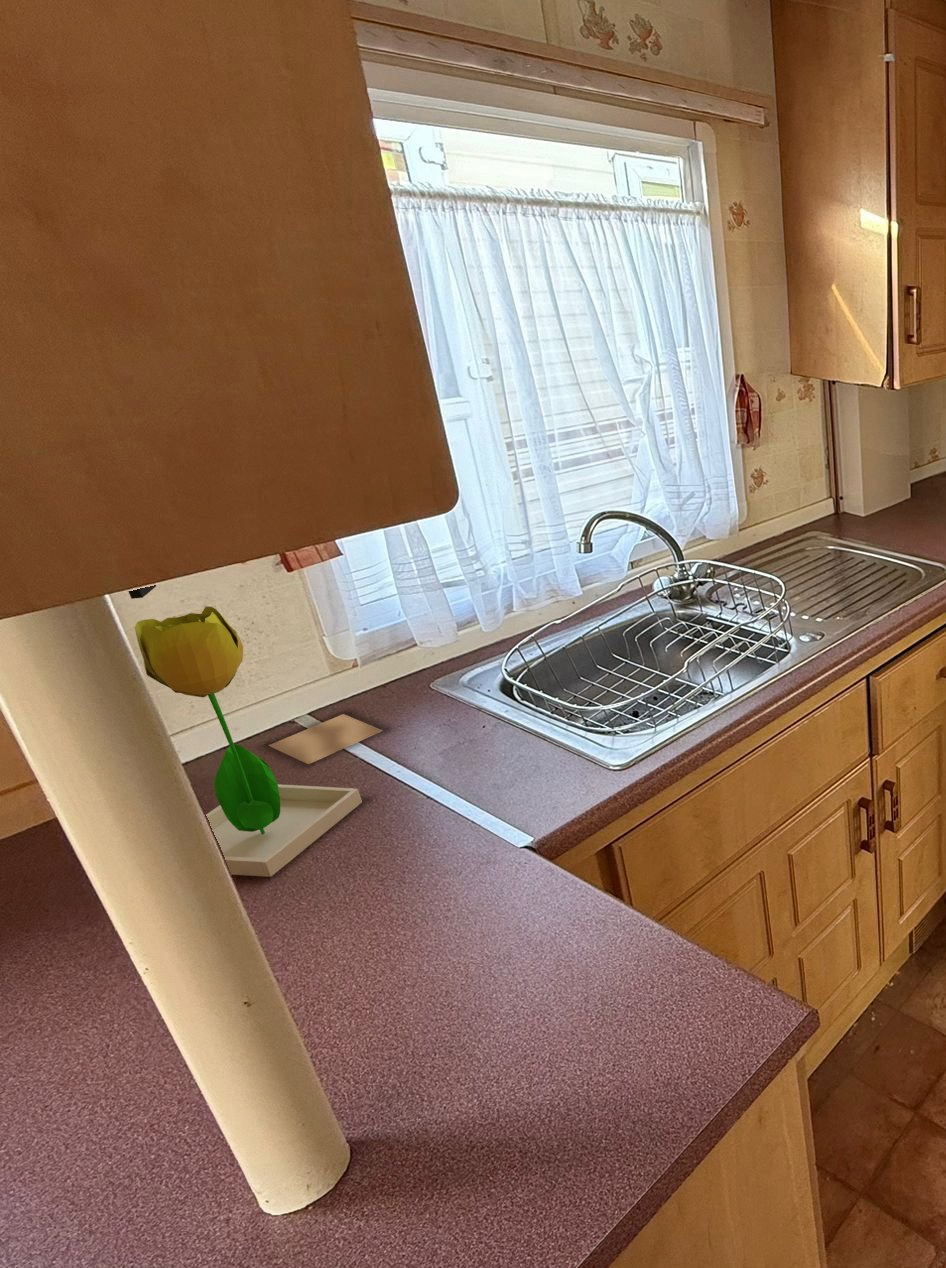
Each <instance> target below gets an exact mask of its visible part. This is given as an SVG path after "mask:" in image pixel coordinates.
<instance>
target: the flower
mask: <svg viewBox="0 0 946 1268" xmlns="http://www.w3.org/2000/svg"><path fill="white" fill-rule="evenodd" d="M134 631H135V635H136V639H137V644H138V648H139V651H140V653H141V656H142V659H143V666H144V671H145V673H146V676H148V677H149V678H151V679H153V680H154V681H156V682H158V683H159V684H161V685H163V686H165V687H166V688H169V689H170V690H171V691H172V692H174V693H176V694H182V695H183V696H184V695H185V696H190V697H197V698H198V697H199V698H206V697H208V699H209V700H210V703H211V706H212V707H213V710H214V712H215V714H216V717H217V720H218V721H219V724H220V727H221V729H222V730H223V734H224V735H225V738H226V740H227V743H228V745H229V747H228V748H227V749H226V750H225V753H224V755H223V757H222V759H221V762H220V764H219V767H218V770H217V772H216V774H215V777H214V791H215V793H214V794H215V795H216V798H217V801H218V803H219V805H221V807H222V809H223V811H224V814H225V815H226V817H227V819H228V820H229V821H230V822H231V824H232V825H233V826H234V827H235V828H237V829H238V830H239V831H249V832H254V831H257V830H260V832H261V834H264V833H265V832H264V829H263V828H265V827H266V826H268V825H269V824H270V823H272V822H274V821H275V820H276V819H277V818H279V815H280V795H279V789H278V784H279V783H278V782H277V780H276V777H275V775H274V773H273V771H272V769H271V768H270V766H269V765H268V763H267V762H266V761H265V760H263V759H262V758H260V757H259V756H257V755H256V754H254V753H253V752H251V751H250V750H248V749H247V748H245V747H244V746H242V745H240V744H234V740H233V738H232V736H231V732H230V729H229V727H228V724H227V721H226V718H225V717H224V714H223V712H222V709H221V706H220V704H219V702H218V699H217V697H216V695H215V694H218V693H220V692H221V691H223V690H225V689H226V688H227V687H228V686H229V685H230V684H231V682H232V681H233V679H234V678H235V676H236V673H237V672H238V669H239V667H240V666H241V663H243V659H244V645H243V642H242V641H241V637H239V635H238V633H237V631H236V630H235V629H234V628H233V627H232V625H231V624H230V623H229V622H228V621H227V620H226V618H225V617H224V616H223V615H222V614H221V613H220V611H218V610H217V609H216V608H214V607H213V606H205V607H204V608H203V610H202V612H201V613H192V612H189V613H188V614H185V615H181V616H174V617H167V618H165V619H163V620H161V621H160V620H157V619H155V618H148V619H143V620H139V621H137V622H136V624H135V625H134Z"/></svg>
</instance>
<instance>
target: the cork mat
mask: <svg viewBox="0 0 946 1268" xmlns="http://www.w3.org/2000/svg"><path fill="white" fill-rule="evenodd" d="M382 732H384V730H383V729H380V728H378V727H375V726H373V725H371V724H369V723H366V722H364V721H361V720H359V719H356V718H354V717H351V716H349V715H347V714H345V713H342V714H340V715H337V716H335V717H333V718H330V719H327V720H325V721H323V722H321V723H318V724H316V725H314V726H311V727H309V728H307V729H304V730H301V731H299V732H297V733H294V734H292V735H290V736H287V737H285V738H282V739H280V740H277V741H275V742H273V743H271V744H268V745H267V746H268V747H270V748H272V749H274V750H276V751H279V752H281V753H282V754H284V755H286V756H289V757H291V758H293V759H296V760H297V761H299V762H302V763H303V764H306V765H310V764H313V763H315V762H317V761H319V760H322V759H324V758H326V757H328V756H331V755H332V754H335V753H337V752H339V751H342V750H344V749H346V748H348V747H351V746H352V745H355V744H357V743H359V742H362V741H364V740H366V739H368V738H370V737H373V736H375V735H378V734H379V733H382Z"/></svg>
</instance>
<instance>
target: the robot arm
mask: <svg viewBox="0 0 946 1268" xmlns="http://www.w3.org/2000/svg"><path fill="white" fill-rule="evenodd" d="M155 588H157V584H156V585H154V586H150V587H145V588H140V589H137V590H133V591H128V590H127V592H128V595H129V597H130V599H131V600H134V599H143V598H144V597H145V596H147V595H148V594H149V593H150V592H151V591H153V590H154V589H155Z"/></svg>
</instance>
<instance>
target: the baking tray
mask: <svg viewBox="0 0 946 1268" xmlns="http://www.w3.org/2000/svg"><path fill="white" fill-rule="evenodd" d="M277 784H278V789H279V795H280V815H279V818H277V819H276V820H275V821H274V822H272V823H270V824H269V825H268V826H266V827H265V828H263V829H264V832H265V833H264V834H261V832H260V830H257V831H254V832H249V831H239V830H238V829H237V828H235V827H234V826H233V825H232V824H231V822H230V821H229V820H228V819H227V817H226V815H225V814H224V811H223V809H222V807H221V805H220V804H219V805H218V806H216V807H215V808H213V809H212V810H211V811H209V812H208V813H207V814H205V815H206V816H207V818H208V820H209V822H210V826H211V828H212V831H213V832H214V835H215V837H216V839H217V841H218V843H219V845H220V847H221V850H222V852H223V855H224V857H225V860H226V862H227V865H228V867H229V870H230V872H231V874H230V875H234V876H251V877H268V878H269V877H273V876H274V875H275V874H276V873H277V872H279V871H280V870H281V869H282V868H284V867H285V866H287V864H288V863H290V862H291V861H292V860H293V859H295V858H296V857H297V856H298V855H300V854H301V853H302V852H303V851H305V850H306V849H307V848H309V846H310V845H312V844H313V843H314V842H316V841H317V840H318V839H320V838H321V836H323V835H324V834H326V832H328V831H329V830H330V829H331V828H332V827H334V826H335V825H336V824H338V823H339V822H340V821H341V820H342V819H343V818H345V817H346V816H347V815H348V814H350V813H352V812H353V810H354V809H356V808H357V807H359V806H360V804H362V803H363V801H362V797H361V794H360V791H359V788H352V787H351V788H350V787H334V786H333V787H332V786H317V785H316V786H314V785H299V784H298V785H297V784H279V783H277Z"/></svg>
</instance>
